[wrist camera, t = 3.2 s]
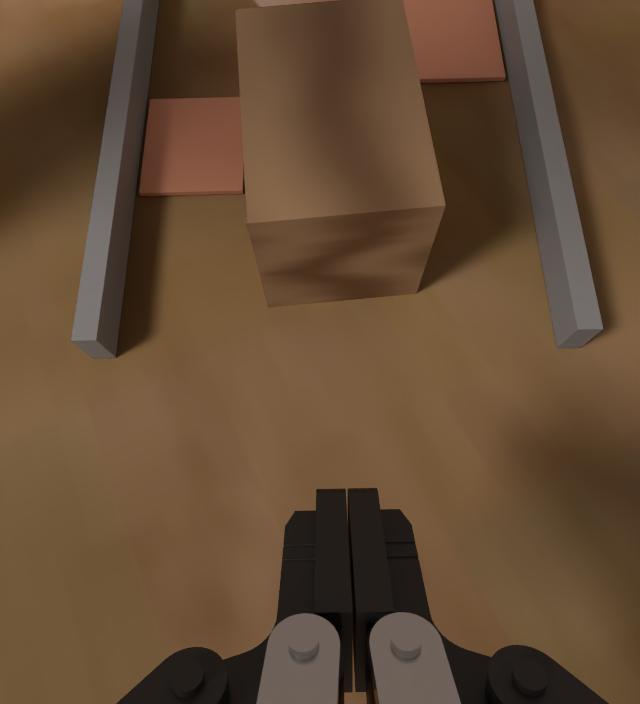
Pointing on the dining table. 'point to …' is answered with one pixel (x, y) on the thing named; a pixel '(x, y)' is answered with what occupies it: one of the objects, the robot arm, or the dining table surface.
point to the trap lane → (228, 166)
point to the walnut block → (335, 151)
